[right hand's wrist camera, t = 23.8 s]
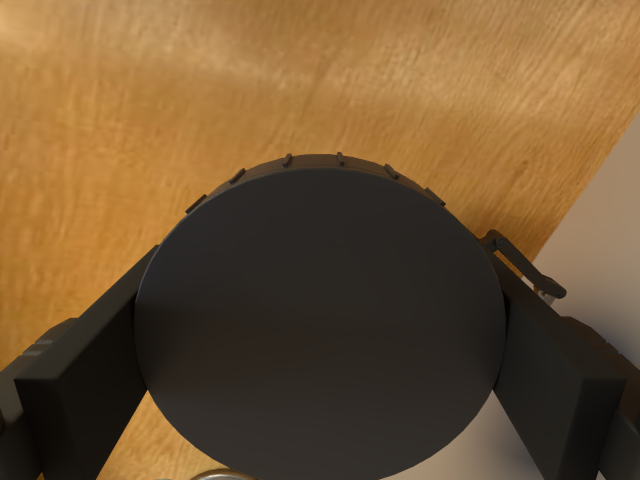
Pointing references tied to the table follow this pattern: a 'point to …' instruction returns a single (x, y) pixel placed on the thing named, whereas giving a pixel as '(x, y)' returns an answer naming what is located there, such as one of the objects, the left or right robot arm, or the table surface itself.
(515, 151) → the table surface
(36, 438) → the right robot arm
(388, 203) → the lid
